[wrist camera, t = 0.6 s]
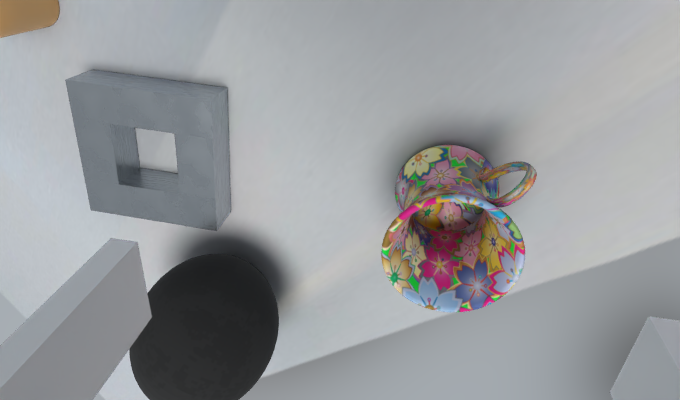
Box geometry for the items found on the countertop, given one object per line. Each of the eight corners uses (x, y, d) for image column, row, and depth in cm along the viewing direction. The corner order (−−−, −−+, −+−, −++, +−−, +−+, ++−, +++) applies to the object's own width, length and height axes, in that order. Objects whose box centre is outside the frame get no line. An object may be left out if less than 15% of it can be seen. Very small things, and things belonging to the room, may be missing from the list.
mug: (445, 251, 44) (450, 333, 34) (369, 188, 42) (353, 257, 33) (553, 164, 38) (594, 235, 29) (472, 87, 36) (488, 137, 27)
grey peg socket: (92, 69, 41) (65, 79, 38) (227, 87, 39) (210, 100, 36) (112, 192, 46) (90, 210, 43) (230, 211, 45) (216, 231, 42)
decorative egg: (257, 211, 45) (188, 321, 32) (316, 307, 49) (276, 438, 36) (157, 247, 49) (60, 358, 36) (220, 333, 54) (154, 459, 41)
